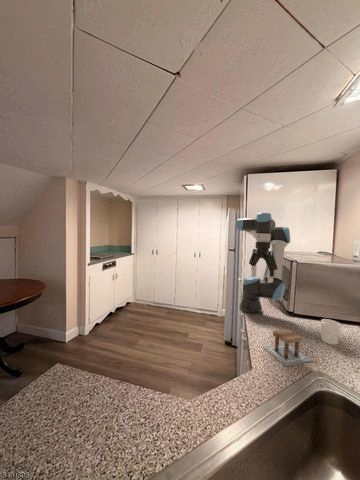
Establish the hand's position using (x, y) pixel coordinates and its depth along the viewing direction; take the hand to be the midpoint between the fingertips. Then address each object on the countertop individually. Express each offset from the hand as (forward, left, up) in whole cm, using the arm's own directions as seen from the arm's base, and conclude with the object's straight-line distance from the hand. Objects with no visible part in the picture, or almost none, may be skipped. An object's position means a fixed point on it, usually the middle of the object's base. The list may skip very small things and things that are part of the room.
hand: (261, 279), depth 112 cm
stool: (+22, -3, -28) cm, 36 cm away
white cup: (+19, +27, -29) cm, 44 cm away
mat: (+22, -3, -29) cm, 36 cm away
